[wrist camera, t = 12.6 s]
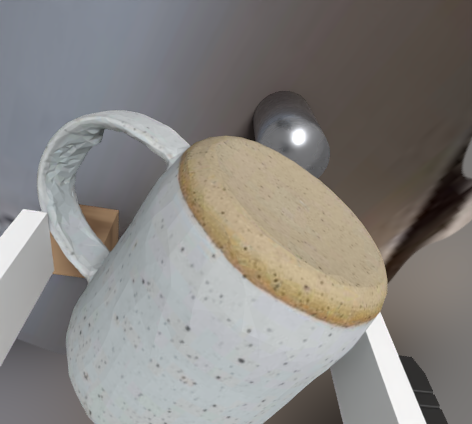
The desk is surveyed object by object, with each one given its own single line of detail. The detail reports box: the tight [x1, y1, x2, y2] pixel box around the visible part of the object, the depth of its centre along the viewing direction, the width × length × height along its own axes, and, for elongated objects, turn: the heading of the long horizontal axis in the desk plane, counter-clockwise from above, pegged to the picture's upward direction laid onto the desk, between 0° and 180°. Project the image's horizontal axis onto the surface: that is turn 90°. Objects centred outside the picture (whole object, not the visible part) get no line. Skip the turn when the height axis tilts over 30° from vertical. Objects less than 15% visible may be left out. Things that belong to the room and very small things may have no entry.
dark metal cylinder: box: [253, 91, 330, 178], centre depth 28 cm, size 5×5×7 cm
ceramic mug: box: [37, 110, 387, 424], centre depth 11 cm, size 11×8×8 cm
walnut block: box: [49, 204, 119, 278], centre depth 35 cm, size 5×5×5 cm
